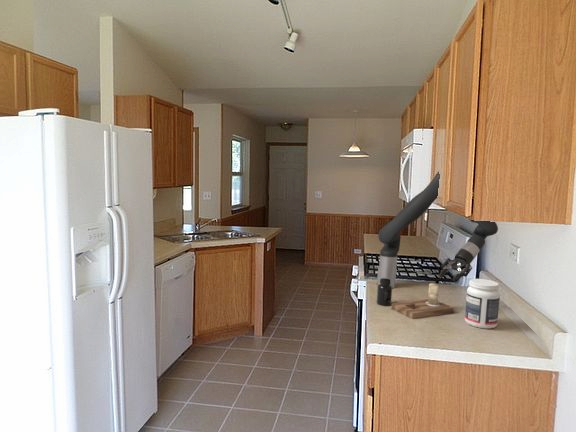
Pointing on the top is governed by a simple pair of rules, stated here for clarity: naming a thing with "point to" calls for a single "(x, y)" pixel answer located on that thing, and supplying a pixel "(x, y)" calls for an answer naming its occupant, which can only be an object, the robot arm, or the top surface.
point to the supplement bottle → (384, 292)
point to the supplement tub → (482, 303)
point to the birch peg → (433, 294)
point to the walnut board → (421, 308)
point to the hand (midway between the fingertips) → (447, 278)
